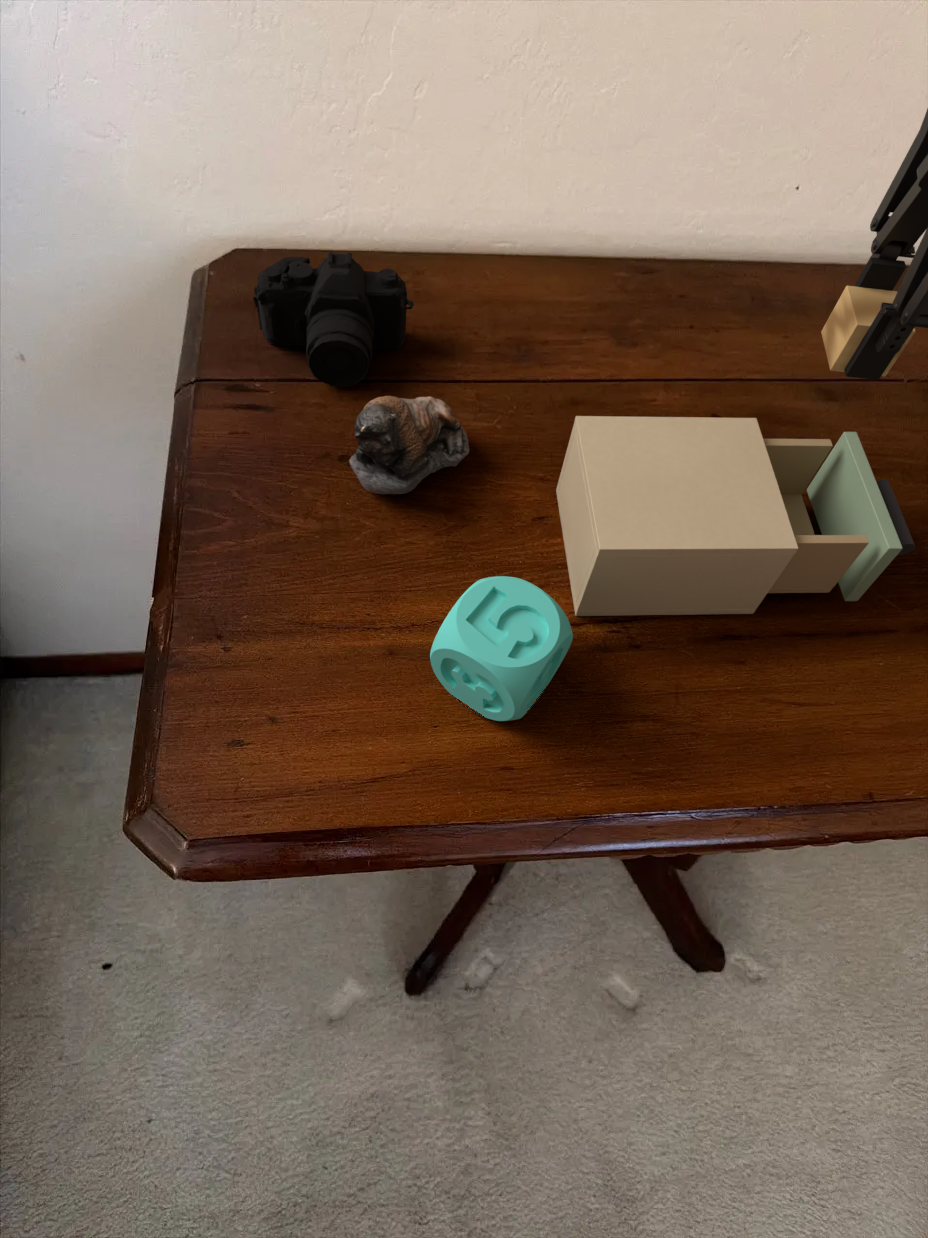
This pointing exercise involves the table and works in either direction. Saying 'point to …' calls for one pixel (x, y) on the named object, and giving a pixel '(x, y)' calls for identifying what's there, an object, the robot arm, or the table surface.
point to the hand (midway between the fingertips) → (855, 351)
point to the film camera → (332, 313)
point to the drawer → (836, 516)
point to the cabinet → (671, 516)
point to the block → (854, 324)
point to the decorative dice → (501, 646)
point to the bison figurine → (405, 442)
